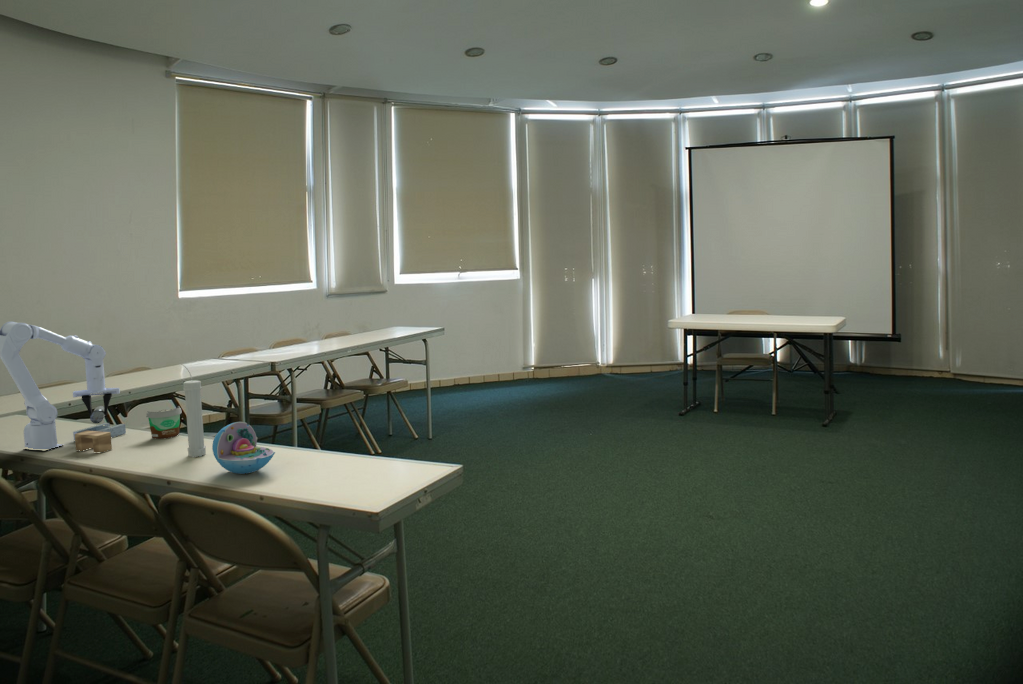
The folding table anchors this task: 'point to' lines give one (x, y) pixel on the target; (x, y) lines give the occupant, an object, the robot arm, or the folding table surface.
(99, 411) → the axle
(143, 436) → the folding table surface
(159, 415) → the food container
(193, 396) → the pipe
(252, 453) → the educational model
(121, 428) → the cradle
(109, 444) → the beam
